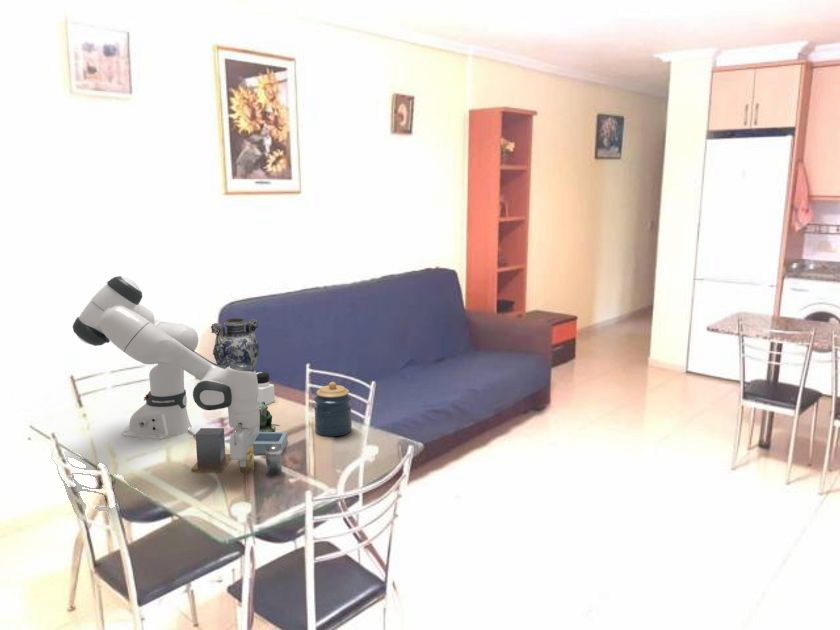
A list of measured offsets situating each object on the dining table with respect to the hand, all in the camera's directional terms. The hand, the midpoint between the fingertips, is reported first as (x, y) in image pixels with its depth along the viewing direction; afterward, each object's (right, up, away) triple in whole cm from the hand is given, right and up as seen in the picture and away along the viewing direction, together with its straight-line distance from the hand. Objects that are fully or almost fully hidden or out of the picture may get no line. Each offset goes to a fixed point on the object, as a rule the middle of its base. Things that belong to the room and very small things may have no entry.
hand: (246, 461), depth 189 cm
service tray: (+2, +1, +17) cm, 17 cm away
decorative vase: (-28, +14, +88) cm, 94 cm away
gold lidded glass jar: (0, -3, +1) cm, 3 cm away
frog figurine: (-4, +3, +31) cm, 31 cm away
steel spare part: (+9, -3, 0) cm, 9 cm away
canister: (+22, +3, +33) cm, 40 cm away
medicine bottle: (-11, +9, +62) cm, 63 cm away
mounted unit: (-11, -2, +4) cm, 12 cm away
